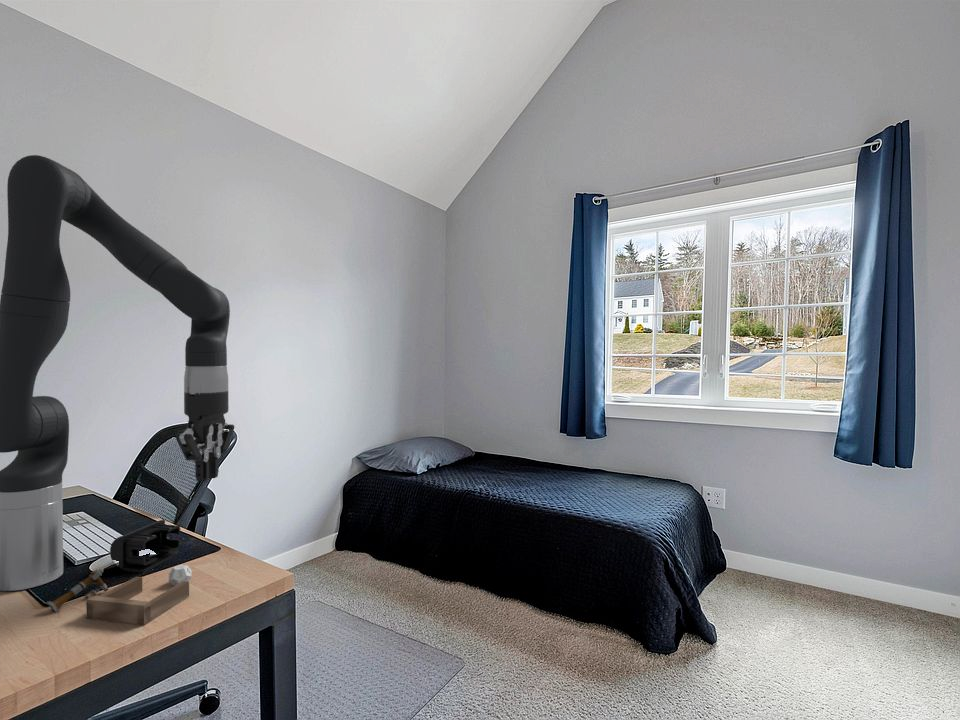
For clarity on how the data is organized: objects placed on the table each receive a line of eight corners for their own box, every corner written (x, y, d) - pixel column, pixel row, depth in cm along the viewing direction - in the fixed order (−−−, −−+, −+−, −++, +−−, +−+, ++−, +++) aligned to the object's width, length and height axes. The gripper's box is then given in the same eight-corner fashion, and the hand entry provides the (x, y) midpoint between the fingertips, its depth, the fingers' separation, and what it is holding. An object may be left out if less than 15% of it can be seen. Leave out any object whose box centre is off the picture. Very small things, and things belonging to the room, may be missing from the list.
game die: (173, 579, 92) (173, 563, 92) (195, 578, 93) (195, 562, 93) (164, 588, 89) (164, 572, 89) (187, 587, 90) (187, 570, 90)
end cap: (152, 550, 106) (152, 518, 106) (182, 553, 105) (181, 520, 104) (109, 571, 96) (108, 535, 96) (141, 574, 95) (141, 538, 95)
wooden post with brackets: (115, 586, 88) (103, 566, 86) (65, 624, 82) (50, 604, 80) (110, 584, 89) (98, 564, 87) (60, 621, 83) (45, 601, 81)
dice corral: (86, 618, 79) (86, 599, 79) (136, 590, 88) (136, 573, 88) (144, 625, 77) (144, 605, 77) (189, 596, 86) (189, 578, 86)
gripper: (214, 386, 105) (214, 470, 105) (160, 392, 91) (161, 488, 91) (246, 387, 103) (247, 471, 104) (197, 393, 90) (198, 490, 90)
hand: (207, 479), depth 98 cm, fingers closed
